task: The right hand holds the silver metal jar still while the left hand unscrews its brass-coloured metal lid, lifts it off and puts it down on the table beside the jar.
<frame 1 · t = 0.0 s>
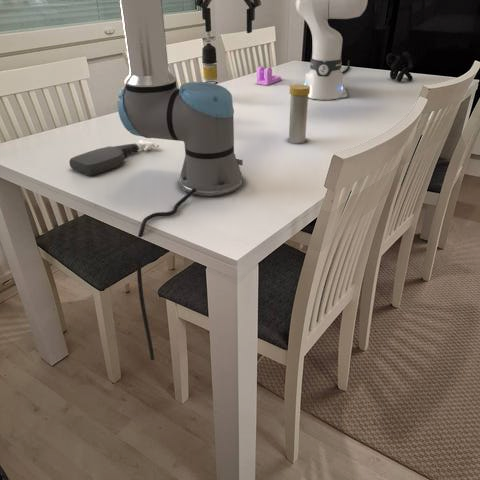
left hand: (228, 32, 139), 28 cm above the table, tool pointing down, fingers open, 13 cm apart
jar: (297, 140, 136), on the table
bracket: (270, 82, 202), on the table
black and yellow bottle: (211, 98, 179), on the table
spray bottle: (117, 159, 125), on the table
squiggle: (399, 80, 200), on the table
lid: (299, 88, 127), point 16 cm above the table, screwed on, not yet turned
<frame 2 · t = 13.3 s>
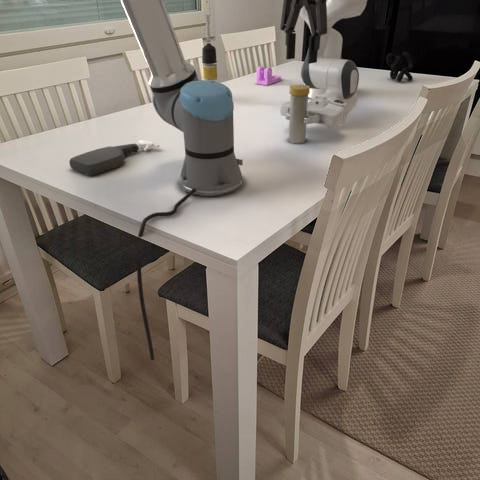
left hand: (301, 60, 123), 23 cm above the table, tool pointing down, fingers open, 8 cm apart
right hand: (296, 119, 131), 7 cm above the table, tool horizontal, fingers closed on jar, 5 cm apart
jar: (296, 140, 136), on the table, touching right hand
everything else where it was.
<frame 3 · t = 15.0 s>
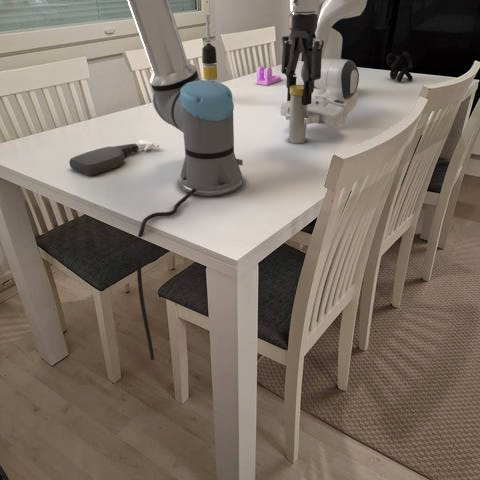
left hand: (299, 102, 129), 12 cm above the table, tool pointing down, fingers closed on lid, 6 cm apart
right hand: (296, 119, 131), 7 cm above the table, tool horizontal, fingers closed on jar, 5 cm apart
jar: (296, 140, 136), on the table, touching right hand
lid: (299, 88, 127), point 16 cm above the table, screwed on, not yet turned, touching left hand
everything else where it was.
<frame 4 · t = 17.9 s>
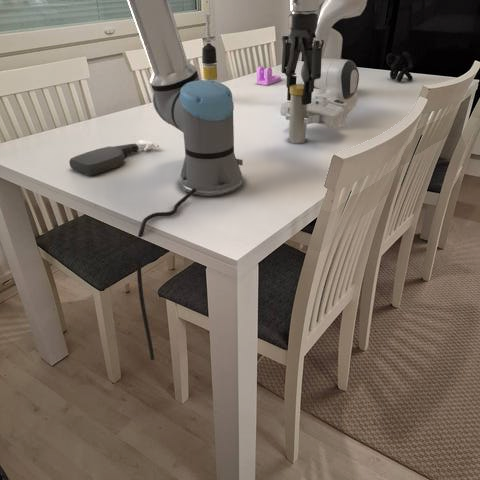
left hand: (299, 101, 129), 12 cm above the table, tool pointing down, fingers closed on lid, 6 cm apart
right hand: (296, 119, 131), 7 cm above the table, tool horizontal, fingers closed on jar, 5 cm apart
jar: (296, 140, 136), on the table, touching right hand
lid: (299, 87, 127), point 16 cm above the table, turned 67° so far, risen 0.1 cm, still on its thread, touching left hand
everything else where it was.
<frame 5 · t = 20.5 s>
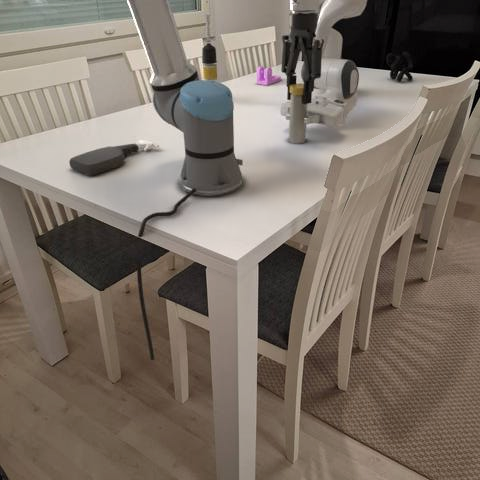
left hand: (299, 101, 129), 12 cm above the table, tool pointing down, fingers closed on lid, 6 cm apart
right hand: (296, 119, 131), 7 cm above the table, tool horizontal, fingers closed on jar, 5 cm apart
jar: (296, 140, 136), on the table, touching right hand
lid: (299, 87, 127), point 16 cm above the table, turned 134° so far, risen 0.3 cm, still on its thread, touching left hand
everything else where it was.
when the left hand's fingers open (1 cm above the table, at t = 25.6 s): lid drops 3 cm, point 1 cm above the table.
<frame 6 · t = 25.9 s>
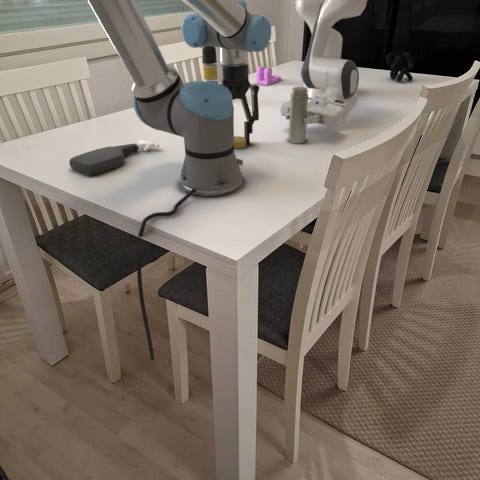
left hand: (237, 145, 133), 0 cm above the table, tool pointing down, fingers open, 6 cm apart
right hand: (296, 119, 131), 7 cm above the table, tool horizontal, fingers closed on jar, 5 cm apart
jar: (297, 140, 136), on the table, touching right hand
lid: (236, 140, 132), point 1 cm above the table, off its thread, touching left hand
everything else where it was.
when the right hand's fingers open (7 cm above the table, at t = 27.4 s): jar stays where it is, on the table.
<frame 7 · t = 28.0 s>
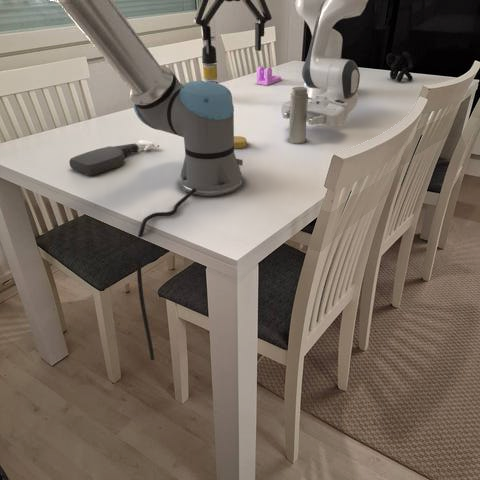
left hand: (233, 51, 119), 26 cm above the table, tool pointing down, fingers open, 13 cm apart
right hand: (297, 118, 132), 7 cm above the table, tool horizontal, fingers open, 8 cm apart
jar: (297, 140, 136), on the table
lid: (236, 140, 132), point 1 cm above the table, off its thread
everything else where it was.
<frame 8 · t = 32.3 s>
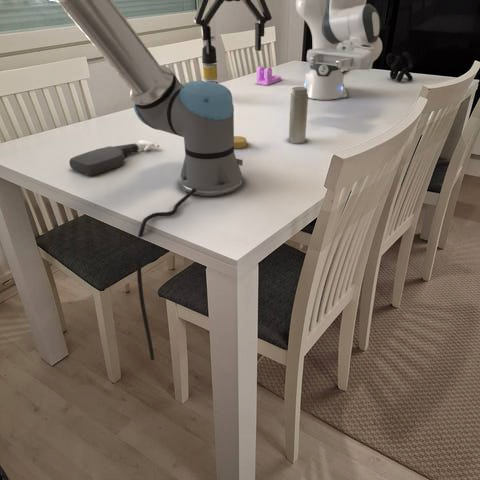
left hand: (233, 51, 119), 26 cm above the table, tool pointing down, fingers open, 13 cm apart
right hand: (324, 62, 132), 21 cm above the table, tool horizontal, fingers open, 8 cm apart
nothing on the table moved.
at the end: lid came off its thread; lid point 1.5 cm above the table; the left hand is holding nothing; the right hand is holding nothing; jar tilted 0°; jar moved 0.0 cm from its start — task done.
